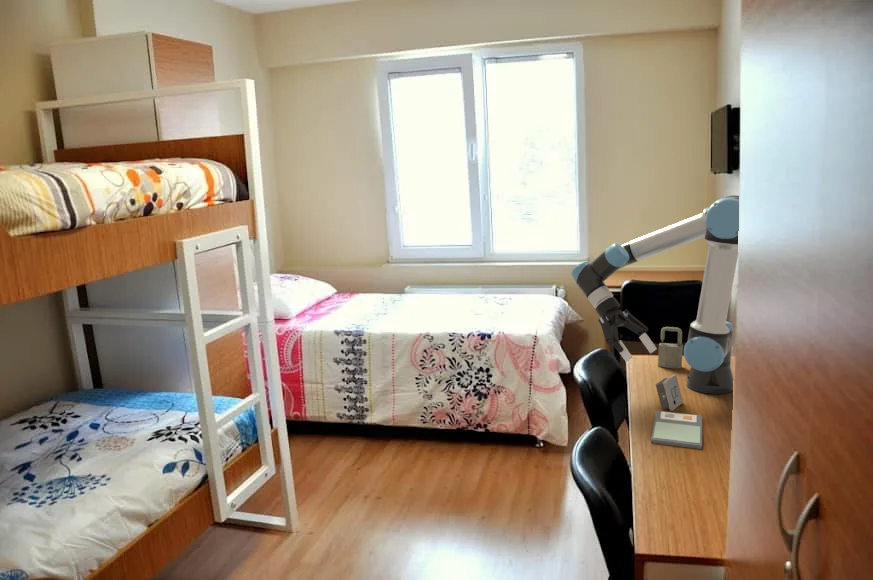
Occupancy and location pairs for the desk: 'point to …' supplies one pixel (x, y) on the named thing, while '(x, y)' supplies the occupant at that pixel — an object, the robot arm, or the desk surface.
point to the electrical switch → (669, 393)
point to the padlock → (670, 350)
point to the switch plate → (677, 429)
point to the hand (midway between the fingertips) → (641, 355)
